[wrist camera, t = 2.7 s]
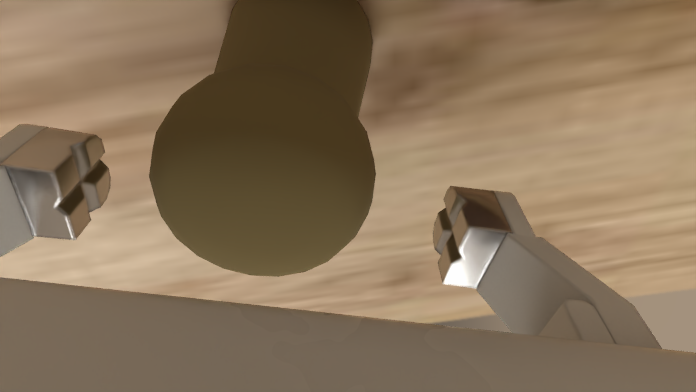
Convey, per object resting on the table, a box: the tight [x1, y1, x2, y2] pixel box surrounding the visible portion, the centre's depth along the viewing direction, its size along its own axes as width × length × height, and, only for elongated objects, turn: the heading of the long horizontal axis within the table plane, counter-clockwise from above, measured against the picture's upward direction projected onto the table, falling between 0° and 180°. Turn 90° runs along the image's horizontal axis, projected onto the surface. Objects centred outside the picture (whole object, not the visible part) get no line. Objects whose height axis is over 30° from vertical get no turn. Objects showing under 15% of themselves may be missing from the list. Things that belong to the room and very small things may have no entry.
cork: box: [149, 0, 376, 276], centre depth 13 cm, size 6×6×11 cm
